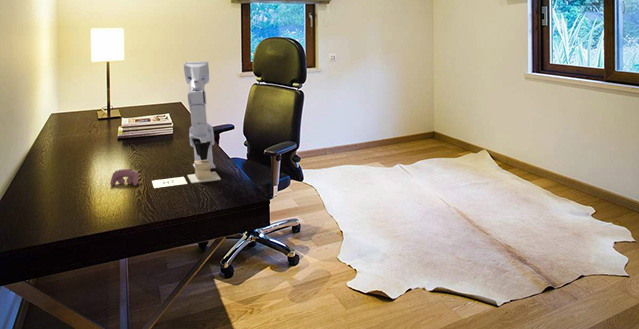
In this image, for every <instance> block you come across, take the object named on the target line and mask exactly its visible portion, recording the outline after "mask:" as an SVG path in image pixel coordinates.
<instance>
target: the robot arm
mask: <svg viewBox="0 0 639 329" xmlns="http://www.w3.org/2000/svg"><path fill="white" fill-rule="evenodd" d="M183 72H184V77H185V81H186V83H187V84H188V92H187V103H188V108H189V112H190V121H191V122H190V123H191V126H190V127H189V129H188V130H189V136H188V137H189V145H190V146H191V147H193V154H194V161H200V160H208V161H209V163H210V170H211V169H216V165H215V164H214V162H213V161H214V160H213V149H212V148H213V146H214V145H215V133H214V127H213V125H211V124H209V123H208V120H207V108H206V107H207V95H206V90H205V87H206V84H208V83H210V66H209V62H208V61H207V60H204V61H203V60H202V61H201V60H200V61H184V63H183ZM192 166H193V168H195V164H194V163H192Z"/></svg>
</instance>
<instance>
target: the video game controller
mask: <svg viewBox="0 0 639 329" xmlns="http://www.w3.org/2000/svg"><path fill="white" fill-rule="evenodd" d="M139 176H140V173H139V172H138V171H136V170H134V169H132V168H131V169H130V168H122V169H117V170H114V172H112V175H111V179H110V182H109V183H110V187H111V188H113V187H114V186H115V185H116V184H117V182H118V184H119V185H123V184H125V182H126V184H128V185H131V184H132V185H133V187H134V186H135V187H136V186H137V185H138V182H139ZM124 178H126V180H125V179H124Z"/></svg>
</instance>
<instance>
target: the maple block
mask: <svg viewBox="0 0 639 329" xmlns="http://www.w3.org/2000/svg"><path fill="white" fill-rule="evenodd" d="M193 162H194V163H193V164H195V167H194V172H195V173H194V174H195V175H196V177H197V179H204V178H211V173H210V172H211V169H210V163H209V161H208V160H200V161H195V160H194V161H193Z"/></svg>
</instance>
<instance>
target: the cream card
mask: <svg viewBox="0 0 639 329" xmlns="http://www.w3.org/2000/svg"><path fill="white" fill-rule="evenodd" d="M151 183H152V186H153V188H154V189H159V188H165V187H173V186H179V185H180V186H181V185H187V184H188V182H187V180H186V178H185V177H184V176H180V177H172V178H171V177H169V178H165V179H164V178H163V179H155V180H151Z"/></svg>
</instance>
